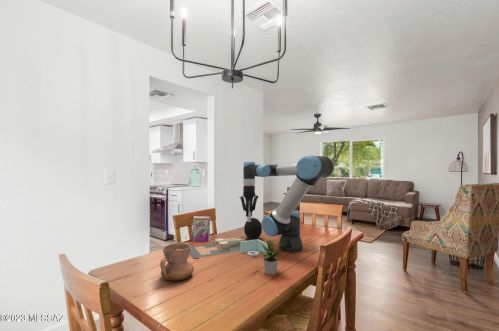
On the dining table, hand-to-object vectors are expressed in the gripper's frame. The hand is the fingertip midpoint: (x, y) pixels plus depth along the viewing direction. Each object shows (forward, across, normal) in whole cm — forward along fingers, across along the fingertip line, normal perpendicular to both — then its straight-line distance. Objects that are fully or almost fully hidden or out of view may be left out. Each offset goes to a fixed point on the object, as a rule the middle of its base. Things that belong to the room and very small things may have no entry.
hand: (248, 221), depth 169 cm
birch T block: (+14, +14, 0) cm, 20 cm away
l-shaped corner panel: (+15, +7, +20) cm, 26 cm away
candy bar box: (+15, +26, -20) cm, 36 cm away
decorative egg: (+15, -7, -8) cm, 18 cm away
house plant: (+15, +11, +43) cm, 47 cm away
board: (+15, +21, 0) cm, 26 cm away
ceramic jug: (+15, +52, +30) cm, 62 cm away
